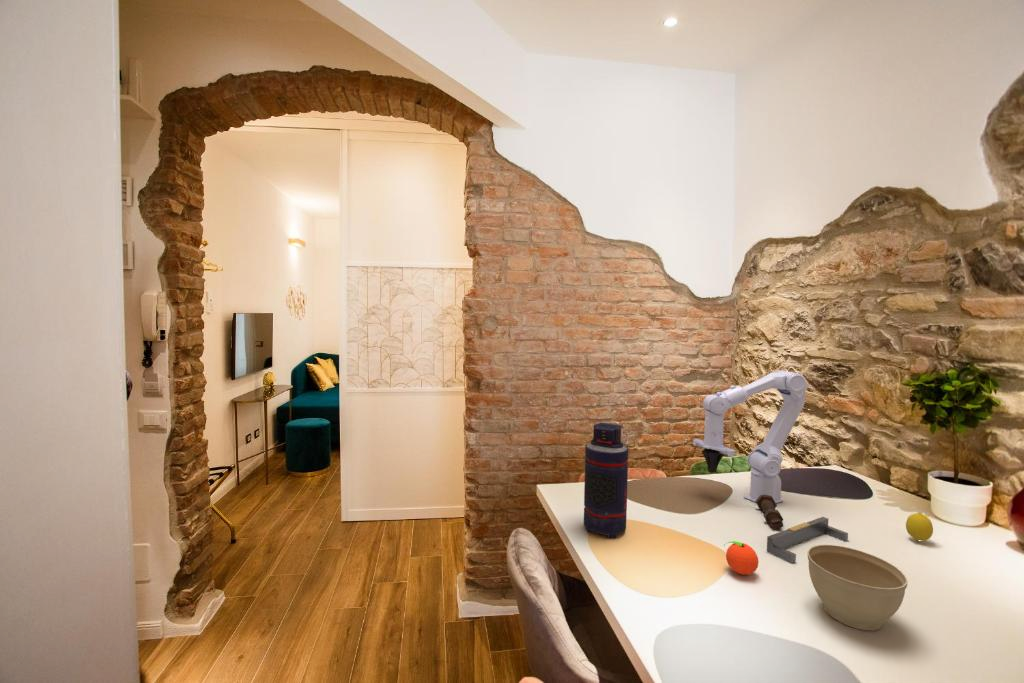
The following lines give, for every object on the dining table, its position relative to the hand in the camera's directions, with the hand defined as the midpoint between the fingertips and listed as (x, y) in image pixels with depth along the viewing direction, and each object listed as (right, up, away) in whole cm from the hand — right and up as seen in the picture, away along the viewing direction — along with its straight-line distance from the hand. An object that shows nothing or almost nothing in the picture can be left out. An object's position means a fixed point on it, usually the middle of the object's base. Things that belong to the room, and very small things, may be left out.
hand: (712, 471), depth 150 cm
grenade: (-40, -10, -21) cm, 46 cm away
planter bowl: (+3, -13, -58) cm, 59 cm away
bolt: (+11, -11, -14) cm, 21 cm away
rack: (+13, -11, -29) cm, 34 cm away
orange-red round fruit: (-12, -12, -42) cm, 46 cm away
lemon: (+45, -12, -26) cm, 53 cm away
